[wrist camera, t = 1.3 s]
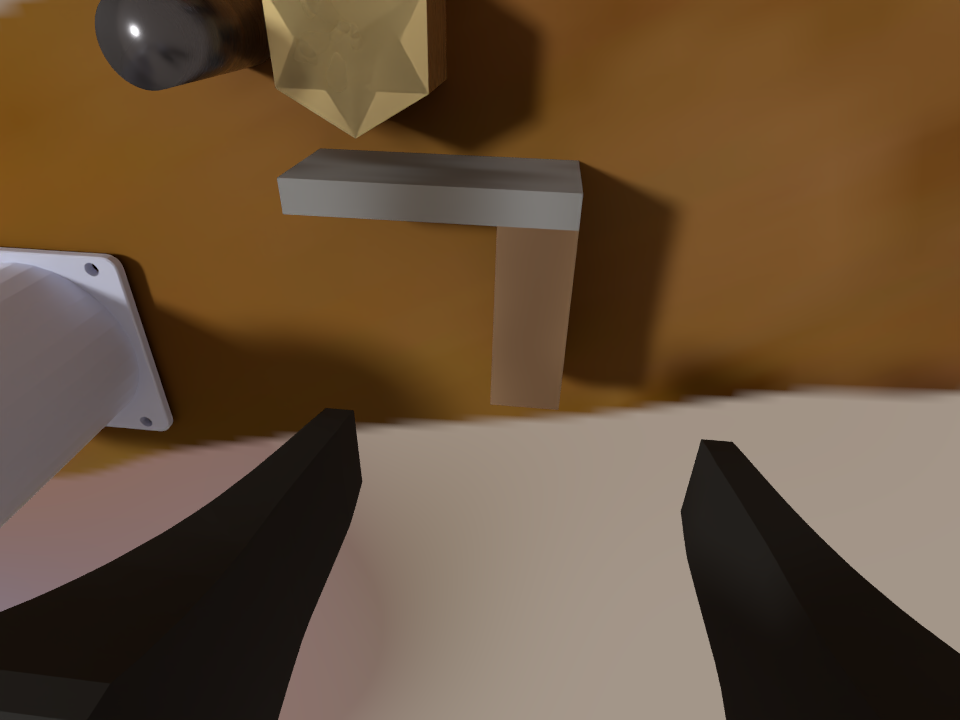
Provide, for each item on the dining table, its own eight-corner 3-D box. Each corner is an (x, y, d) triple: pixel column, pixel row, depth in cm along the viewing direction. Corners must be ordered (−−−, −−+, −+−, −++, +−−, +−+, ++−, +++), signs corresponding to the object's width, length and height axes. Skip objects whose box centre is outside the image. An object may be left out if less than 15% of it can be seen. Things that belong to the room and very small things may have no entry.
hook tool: (343, 337, 23) (311, 389, 20) (320, 148, 19) (277, 177, 16) (558, 353, 22) (558, 409, 19) (578, 160, 18) (583, 193, 15)
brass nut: (353, 135, 19) (321, 159, 16) (273, 6, 17) (223, 8, 14) (481, 58, 17) (468, 70, 14) (407, -94, 15) (378, -110, 13)
